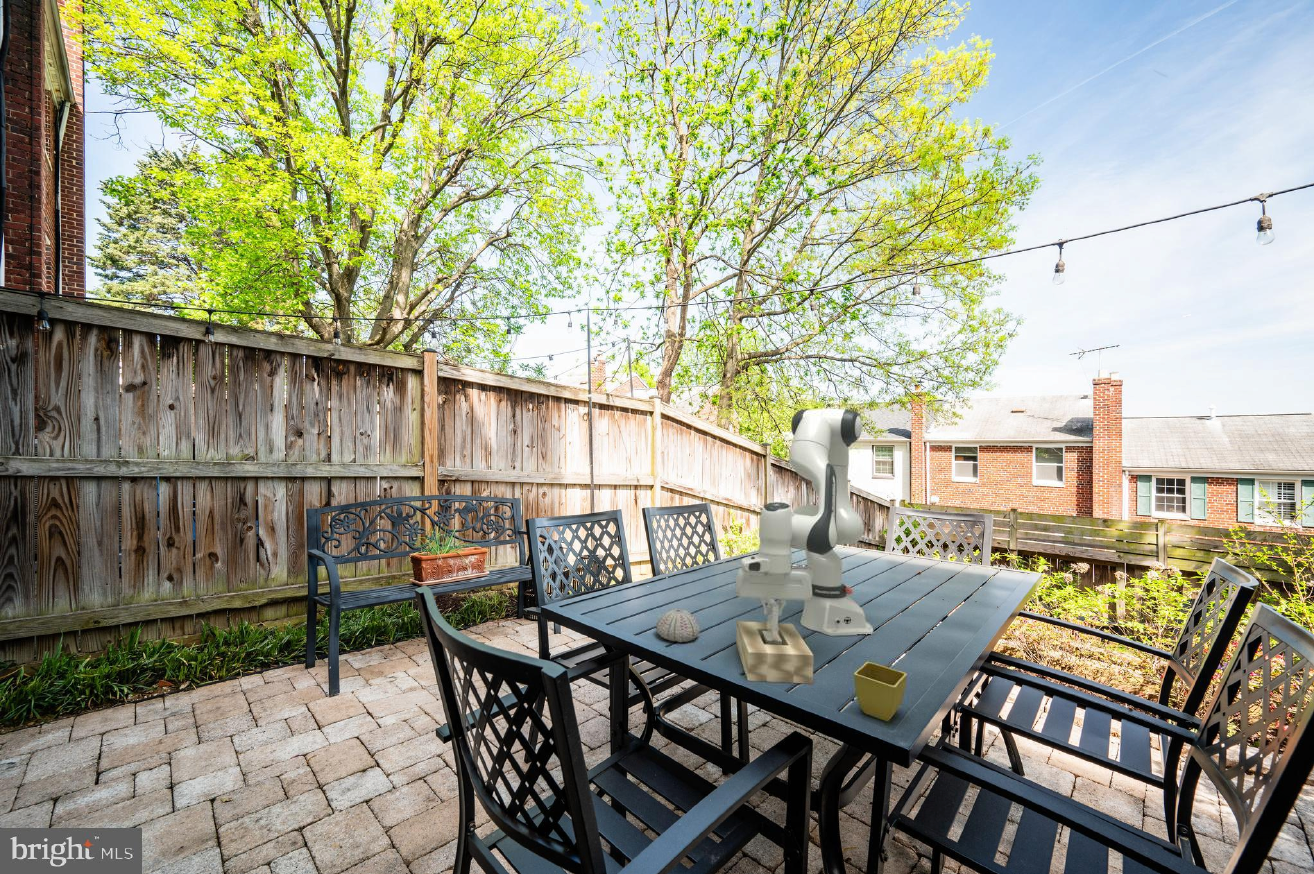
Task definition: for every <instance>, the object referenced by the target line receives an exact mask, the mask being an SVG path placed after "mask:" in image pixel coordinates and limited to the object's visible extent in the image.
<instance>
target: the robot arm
mask: <svg viewBox="0 0 1314 874" xmlns="http://www.w3.org/2000/svg"><path fill="white" fill-rule="evenodd" d="M790 425H791V427H790V429H791V433H792V435H793V437H792V441H791V445H790V449H789V453H788V461H789V465H790V466H791V469H792V470H793V471H794V472H795V473H796V474H798V475H799V476H800V477H803V478H804V479H807V480H809V481H810V482H811V486H812V487H811V488H812V489H813V490H814V491H815V493H817V494H818V505H815V504H814V505H813V504H804V505H798V506H797V507H795V508H794V510H793V511H792V507H791V505H789V504H788V503H786V502H779V501H778V502H777V501H775V502H769V503H766V504H764V505H763V506H762V508H761V511H760V518H759V527H758V538H759V546H758V550H757V551H758V552H757V553H758V554H754V555H750V556H747V557H744V558H741V560H740V565H741V567H740V568H739V569H738V571H737V575H736V580H735V588H734V589H735V590H734V591H735V594H736V595H737V596H738V598H746V599H747V598H749V599H760V603H761V604H762V606H763V615H765V616H767V615H770V612H771V609H770V607H767V604H766V603H768V599H774V600H778V601H779V604H778V606H779V610H778V617H779V616H780V617H781V616H782V610H783V609H784V607H785V606H786V605H787V600H788V601H804V606H803V611H802V615H801V618H800V620H799V622H800V624H801V625H802V626H803V627H804V628H806V629H809V630H811V631H815V632H819V633H822V634H825V635H827V636H833V637H838V636H839V637H840V636H858V635H857V634H866V636H867V634H871V635H873V634H874V628H873V626H872V625H871V623H869V622H868V621H867V620H866V615H865V611H864V609H863V608H862V607H861V606H859V604H858V603H856V602H855V601H854V599H852V598H851V597H849V595H852V594H853V591H854V590H853V589H852V588H851V587H849V586H847V585H845V584H844V583H843V582H842V581H843V580H842V579H843V561H842V559H841V557H840V556H839V554H837V553H836V552H835V551H834V548H836V546H837V544H839V545H842V544H843V545H846V544H847V545H850V544H856V543H858V542H859V541H860V540H861V538H862V537H863V535H864V531H865V526H864V522H863V519H862V517H861V516H860V515H859V514H858V512H856V510H855V509H854V507H853V506H852V503H851V500H850V498H849V493H848V479H849V477H848V476H849V475H848V474H849V467H850V466H849V464H850V463H849V462H850V454H849V453H850V452H849V447H851V445H852V444H853V443H854V444H855V443H856V442H857V441H858V440H859V438H860V436H861V434H862V431H863V420H862V416H861V415H860V413H859V412H858V411H856V410H853V409H849V408H848V409H847V408H846V409H840V408H832V407H829V408H827V407H826V408H814V409H808V408H804V409H801V410H800V409H799V410H798V411H797V412H795V413H794V414H793V416H792V418H791V424H790ZM791 548H792V549H795V550H802V551H804V552H805V557H806V564H796V563H795V564H794V563H792V553H793V552H792V549H791Z"/></svg>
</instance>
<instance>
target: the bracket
mask: <svg viewBox="0 0 1314 874" xmlns="http://www.w3.org/2000/svg"><path fill="white" fill-rule="evenodd" d="M775 600H776V599H767V604H766V606H767V607H770V609H771V612H770V615H766V623H767V631H762V636H763V638H764V640H765V642H766V644H773V645H782V640H781V638H780V637H779V635H778V623H779V616H778V610H779V604H778V603H777V602H776V601H775Z"/></svg>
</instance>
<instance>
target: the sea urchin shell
mask: <svg viewBox="0 0 1314 874" xmlns="http://www.w3.org/2000/svg"><path fill="white" fill-rule="evenodd" d="M655 630H656V632H657V633H658V635H659V636H660V637H661V638H663V639H665V640H669V641H671V642H677V643H682V642H683V643H688V642H691V641H693V640H695V639H697V638H698V637H699V635H700V631H701V628H700V625H699V622H698V621H697V619H696V618H695V616H694V615H693V614H692V613H690V611H688V610H686V609H680V608H673V609H671V610H669V611H666V612H664V613H663V614H662V615H661V616H660V617H659V619H658V620H657V622H656V623H655Z"/></svg>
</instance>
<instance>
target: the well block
mask: <svg viewBox="0 0 1314 874" xmlns="http://www.w3.org/2000/svg"><path fill="white" fill-rule="evenodd" d="M762 631H767V622H766V621H765V622H763V621H762V622H761V621H740V620H738V621H736V638H735V639H736V642H735V643H736V645H735V646H736V649H737V652H738V654H739V657H740V661H741V663H742V666H743V667H742V668H743V671H744V673H745V676H746V679H747V681H749V682H750V681H751V682H768V683H769V682H770V683H789V684H791V683H792V684H812V685H813V683H814V681H813V680H814V654H813V652H812V651H811V650H810V648H809V646H808V645H807V644H806V643H807V642H805V641H804V639H803V638H802V636H801V634H800V633H799V631H798V630H797V629H796V627H795V626H794V624H793V623H787V622H786V623H783V622H781V623H780V622H778V635H779V637H780V638H781V640H782V645H773V644H766V642H765V640H764V638H763V636H762Z"/></svg>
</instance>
